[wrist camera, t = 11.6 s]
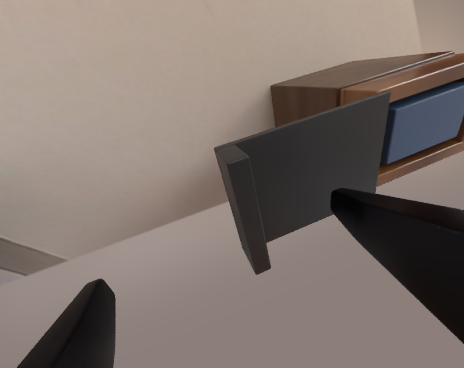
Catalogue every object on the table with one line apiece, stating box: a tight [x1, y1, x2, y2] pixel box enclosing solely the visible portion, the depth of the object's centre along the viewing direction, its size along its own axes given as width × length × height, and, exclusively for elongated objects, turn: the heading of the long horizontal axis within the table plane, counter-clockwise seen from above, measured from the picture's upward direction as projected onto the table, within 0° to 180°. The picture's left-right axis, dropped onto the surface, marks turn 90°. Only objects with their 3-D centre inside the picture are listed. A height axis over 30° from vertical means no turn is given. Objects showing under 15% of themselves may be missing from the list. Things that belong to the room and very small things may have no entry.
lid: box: [214, 91, 391, 275], centre depth 9 cm, size 8×6×2 cm
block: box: [380, 82, 464, 164], centre depth 13 cm, size 6×3×2 cm, turn 104°
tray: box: [340, 53, 464, 187], centre depth 13 cm, size 8×6×2 cm
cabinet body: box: [271, 51, 454, 127], centre depth 17 cm, size 9×6×8 cm
